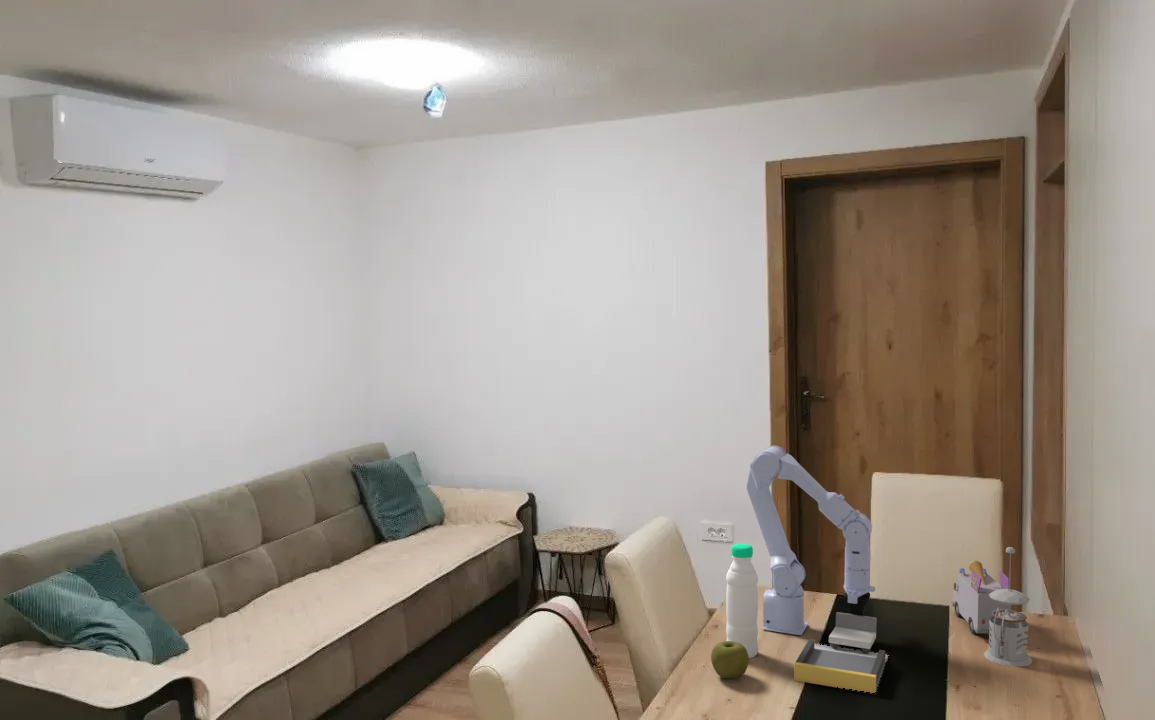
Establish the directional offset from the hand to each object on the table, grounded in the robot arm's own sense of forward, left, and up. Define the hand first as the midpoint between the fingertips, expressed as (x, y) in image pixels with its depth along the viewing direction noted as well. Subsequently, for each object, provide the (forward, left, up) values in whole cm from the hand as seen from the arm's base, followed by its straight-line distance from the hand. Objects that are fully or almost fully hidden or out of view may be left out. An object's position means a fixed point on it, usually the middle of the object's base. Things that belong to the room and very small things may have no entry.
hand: (856, 624), depth 217 cm
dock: (0, -18, -3) cm, 19 cm away
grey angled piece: (0, -7, -3) cm, 7 cm away
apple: (-21, -33, -4) cm, 39 cm away
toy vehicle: (+26, +20, -4) cm, 33 cm away
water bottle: (-22, -20, -4) cm, 30 cm away
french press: (+32, +1, -4) cm, 32 cm away
